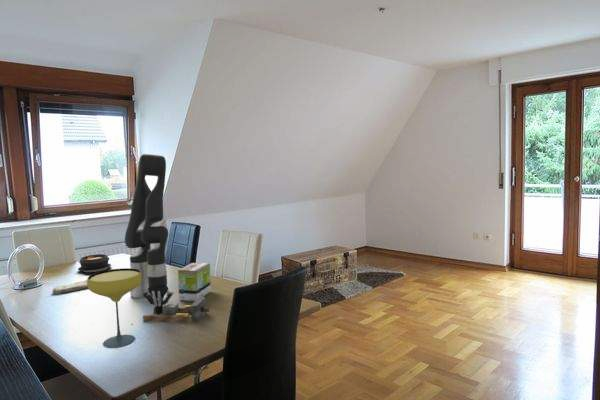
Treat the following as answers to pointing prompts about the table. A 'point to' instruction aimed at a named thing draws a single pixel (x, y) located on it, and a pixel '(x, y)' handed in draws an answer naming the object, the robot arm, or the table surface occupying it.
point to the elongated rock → (70, 287)
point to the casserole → (94, 263)
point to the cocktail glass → (115, 295)
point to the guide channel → (182, 313)
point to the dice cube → (170, 309)
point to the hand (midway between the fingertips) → (159, 314)
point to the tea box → (194, 281)
